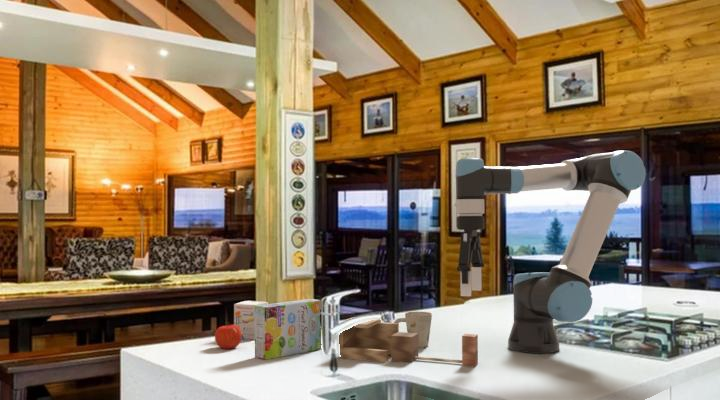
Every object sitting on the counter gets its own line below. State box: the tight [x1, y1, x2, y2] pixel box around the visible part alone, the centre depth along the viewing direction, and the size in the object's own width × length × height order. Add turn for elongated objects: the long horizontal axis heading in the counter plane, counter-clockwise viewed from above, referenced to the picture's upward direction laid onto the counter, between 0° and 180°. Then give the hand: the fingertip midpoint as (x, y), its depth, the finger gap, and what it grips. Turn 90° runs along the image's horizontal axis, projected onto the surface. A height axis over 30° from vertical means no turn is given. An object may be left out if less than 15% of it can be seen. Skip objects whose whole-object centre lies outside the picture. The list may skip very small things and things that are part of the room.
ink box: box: [233, 300, 269, 341], centre depth 215 cm, size 9×8×12 cm
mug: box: [393, 311, 433, 348], centre depth 202 cm, size 8×13×10 cm, turn 78°
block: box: [390, 331, 479, 368], centre depth 178 cm, size 23×6×8 cm, turn 68°
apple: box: [214, 321, 242, 350], centre depth 197 cm, size 8×8×8 cm
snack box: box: [254, 298, 323, 360], centre depth 190 cm, size 21×6×15 cm, turn 134°
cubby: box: [339, 316, 400, 363], centre depth 186 cm, size 14×11×10 cm
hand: (471, 293), depth 175 cm, fingers open, 13 cm apart
